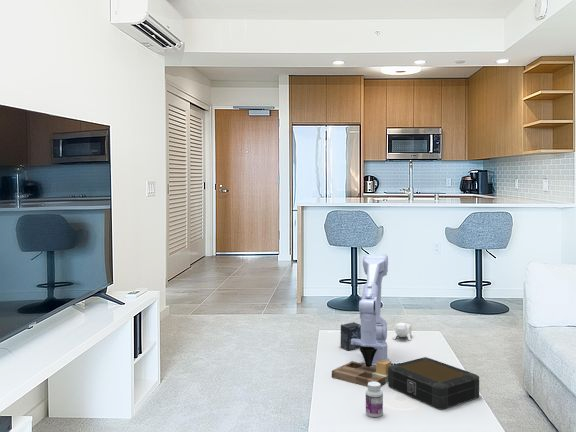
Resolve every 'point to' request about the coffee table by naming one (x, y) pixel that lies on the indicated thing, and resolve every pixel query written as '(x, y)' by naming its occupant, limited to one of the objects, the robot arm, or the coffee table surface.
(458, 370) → the cash box
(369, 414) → the pill bottle
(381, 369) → the block
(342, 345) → the box
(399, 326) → the white rounded figure
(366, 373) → the trap board
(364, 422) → the coffee table surface
